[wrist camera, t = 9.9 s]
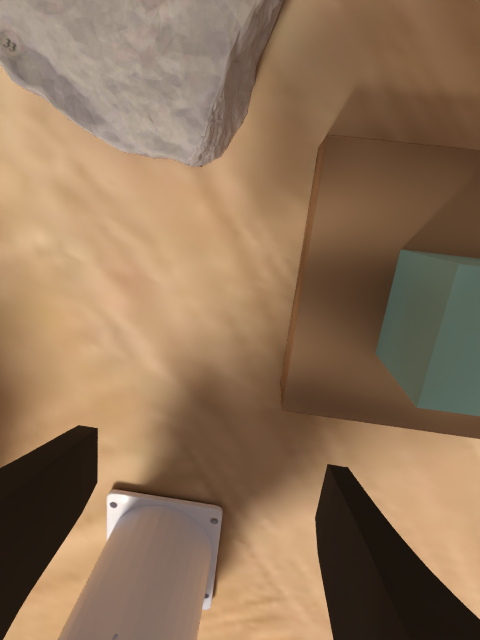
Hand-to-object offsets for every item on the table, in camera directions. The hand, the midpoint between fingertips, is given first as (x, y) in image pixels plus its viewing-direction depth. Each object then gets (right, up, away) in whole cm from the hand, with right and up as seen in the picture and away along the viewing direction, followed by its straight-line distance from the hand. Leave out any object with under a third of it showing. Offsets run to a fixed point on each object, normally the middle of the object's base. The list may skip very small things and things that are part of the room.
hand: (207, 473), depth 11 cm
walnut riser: (+11, +6, +8) cm, 15 cm away
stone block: (-4, +18, +6) cm, 20 cm away
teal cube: (+10, +5, +5) cm, 13 cm away
